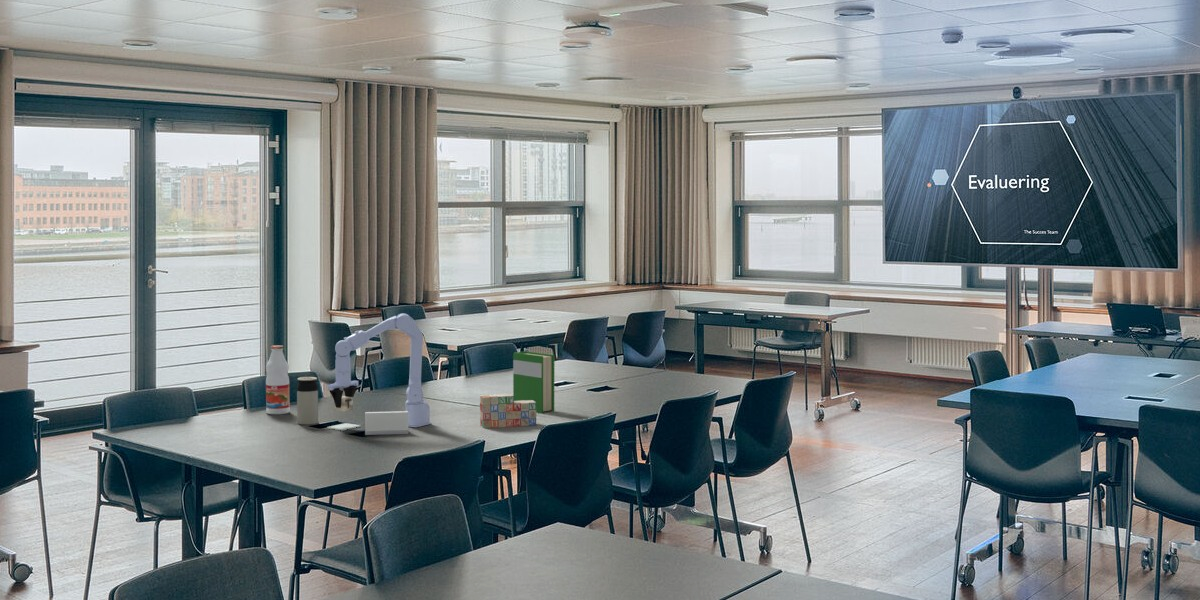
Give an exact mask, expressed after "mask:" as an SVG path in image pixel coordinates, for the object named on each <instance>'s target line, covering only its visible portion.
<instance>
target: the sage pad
mask: <svg viewBox="0 0 1200 600" xmlns="http://www.w3.org/2000/svg"><path fill="white" fill-rule="evenodd" d="M356 427H357V428H361V427H362V426H361V424H355V423H348V422H344V423H340V424H335V425H331V426H330V425H329V426H327V427H326V429H328V430H333V429H335V431H340V430H341V432H342V431H346V430H347V429H348V430H352V429H356Z"/></svg>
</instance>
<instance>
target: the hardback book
mask: <svg viewBox="0 0 1200 600" xmlns="http://www.w3.org/2000/svg"><path fill="white" fill-rule="evenodd" d="M512 355H513V356H512V358H513V361H512V363H513V364H512V367H513V370H512V371H513V372H512V374H513V377H512V378H513V381H512V383H513V384H512V385H513V387H512V389H513V390H512V391H513V393H512V395H513V396H514V401H522V400H525V401H526V400H533V401H535V402H536V414H544V412H555V354H552V353H550V354H549V353H541V352H535V351H534V352H533V351H528V350H527V351H517V352H513V354H512Z"/></svg>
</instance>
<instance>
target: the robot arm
mask: <svg viewBox="0 0 1200 600" xmlns="http://www.w3.org/2000/svg"><path fill="white" fill-rule="evenodd" d="M396 328H397V329H398V330H399V331H400V332H402V333H405V334H406V335H407V336H408V337H409V338H410V349H409V350H410V351H409V353H410V355H409V373H408V374H409V375H408V376H409V379H408V386H407V388H406V390H405V395H406V398H407V400H406V401H405V403H404V404H405V405H404V407H405V409H404V411H408V428H409V427H410V428H418V427H423V426H428V425H431V424H432V422H431V419H430V416H431V415H430V413H431V412H430V411H431V410H430V405H429V403H428V402H427V401H424V400H423V399H424V392H423V389H422V367H423V366H422V365H423V364H422V363H423V362H422V361H423V341H424V335H423V332H422V329H420V327H419V326H418V324H417V323H416V321H415V320H414V318H413V317H411V316H410V315H409V314H408V313H403V312H402V313H398V314H397V315H393V316H391V317H389V318H387V319H384V320H383V321H381V322H380V323H378V324H376V325H375V326H373V327H371V328H369V329H367V330H366V331H365V330H356V331H354V333H352V334H351V335H349V336H345V337H343V339H342V340H339V341H338V342H336V344H335V347H334V351H335V353H336V354H335V361H334V362H335V363H334V364H335V382H334V383H331V384H327V390H328V391H329V393H330V394H331V397H332V398H333V403H334V402H335V406H336V407H337V408H341V399H342V396H343V394H344V396H347V397H353V398H354V396H355V393H356V391H357V390H358V388H357V387H358V386H359V380H352V373H351V371H352V370H351V366H352V365H351V364H352V363H351V355H350V353H351V351H356V350H358V349H360V348H361V347H364V346H365V345H367V344H369V342H370V339H371V338H373V337H375V336H376V337H377V336H378V335H379V334H382V333H383V332H386V331H387V330H394V331H396ZM342 389H343V390H342Z"/></svg>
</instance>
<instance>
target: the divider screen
mask: <svg viewBox="0 0 1200 600" xmlns="http://www.w3.org/2000/svg"><path fill="white" fill-rule="evenodd" d="M364 417H365V418H364V421H365V422H364V423H365V425H364V427H365V428H364V429H365V431H364V435H365V436H373V435H374V436H376V435H408V434H409V426H408V411H405V410H403V411H401V410H399V411H366V412H364Z"/></svg>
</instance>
